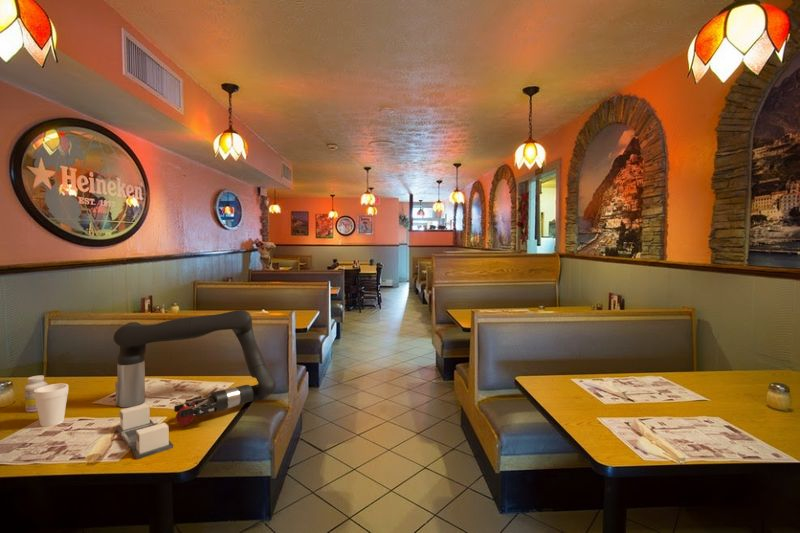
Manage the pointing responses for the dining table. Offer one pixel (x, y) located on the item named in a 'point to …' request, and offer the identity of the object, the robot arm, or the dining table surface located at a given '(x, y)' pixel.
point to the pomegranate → (186, 419)
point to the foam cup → (51, 403)
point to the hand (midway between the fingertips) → (177, 411)
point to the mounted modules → (146, 436)
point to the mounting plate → (131, 440)
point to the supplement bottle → (32, 392)
